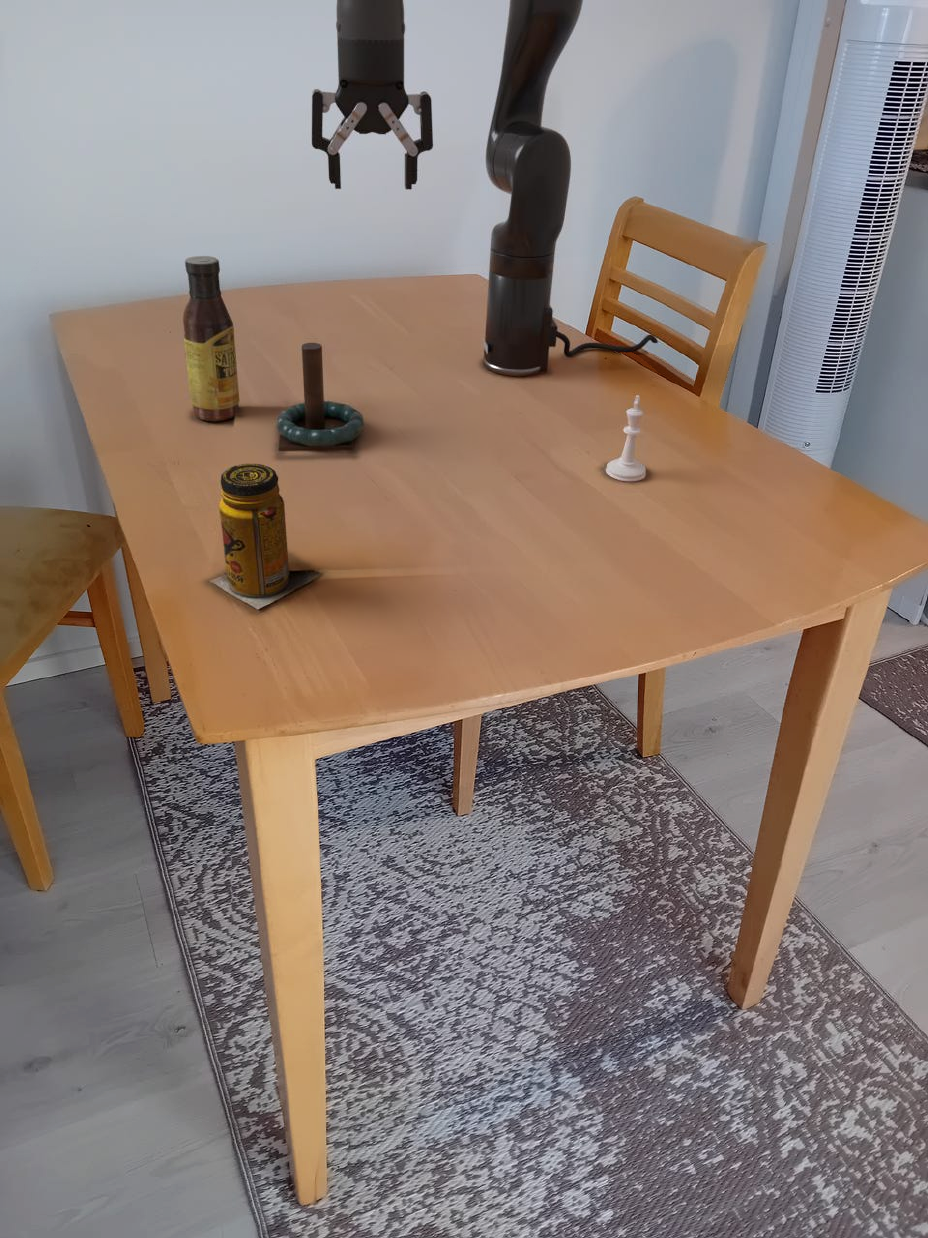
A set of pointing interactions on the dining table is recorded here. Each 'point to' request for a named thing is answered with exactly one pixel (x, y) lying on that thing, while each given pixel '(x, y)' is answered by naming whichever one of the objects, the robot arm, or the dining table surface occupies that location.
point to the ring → (321, 436)
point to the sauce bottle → (209, 344)
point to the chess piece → (629, 450)
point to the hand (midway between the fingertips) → (373, 187)
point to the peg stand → (314, 402)
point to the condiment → (256, 537)
